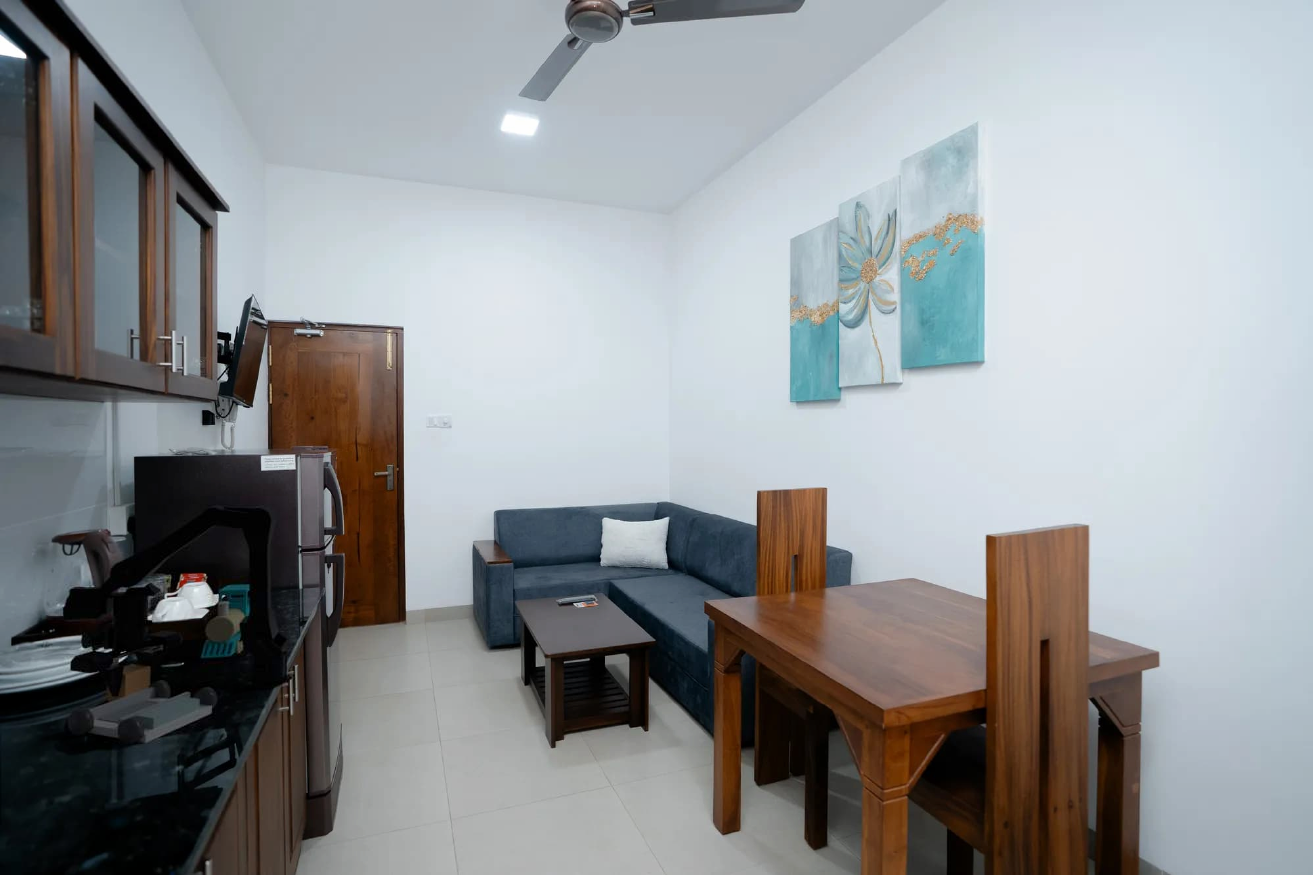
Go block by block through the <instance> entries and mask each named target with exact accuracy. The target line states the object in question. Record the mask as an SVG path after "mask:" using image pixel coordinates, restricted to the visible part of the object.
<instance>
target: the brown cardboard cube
mask: <svg viewBox="0 0 1313 875" xmlns="http://www.w3.org/2000/svg"><path fill="white" fill-rule="evenodd" d="M150 684H151V676H150V666H145V665H139V663H130V664H127V665H124V670H123V675H122V681H121V686H120V691H119V694H118V696H117V697H113V696H112V695H111V693H110V691H109V689H108V686H107V685H106V702H111V701H114V700H117V699H119V698H122V697H125V696H128V695H130V694H133V693H136V692H139V691H141V690H144V689H147V688H148V687H149V685H150Z"/></svg>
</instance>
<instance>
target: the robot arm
mask: <svg viewBox="0 0 1313 875" xmlns="http://www.w3.org/2000/svg"><path fill="white" fill-rule="evenodd" d="M277 515H278V514H277V511H276V510H275V509H274V508H272V506H269V505H267V504H266V505H265V504H261V505H256V506H254V507H243V506H242V507H235V506H233V507H232V506H231V507H230V506H222V505H213V506H211V507H208V508H206V509H205V510H203V512H202V513H200V514H199V515H198V516H196V517H195V518H193V519H191V520H190V521H189V522H187V523H185V524H184V525H183V526H181V527H180V528H178V529H177V530H175V531H174V532H172V533H170V534H168V536H166V537H165V538H163V539H161V540H160V541H159V542H157V543H155V544H154V545H153V546H151V547H148V548H146V549H144V550H142V551H139V552H138V553H136V554H134V555H131V556H129V557H127V558H125V559H123V560H121V561H118V562H117V563H115V564H114V565H112V566H111V568H110V572H109V578H107V579H106V581H105V582H104V583H103V584H102V585H101V586H90V587H89V586H87V587H86V586H74V587H72V588H70V589H69V590H68V592H69V594H68V596H67V598H66V600H65V603H64V606H63V607H62V616H63V620H64V621H65V622H81V621H96V620H104V619H105V617H106V616H107V615H110V614H111V613H112V622H110V623H107V625H106V629H105V631H103V632H99V631H98V630H97V629H94V630H91V631H85V632H83V633H82V634H81V639H80V644H81V647H82V648H83V649H88V648H91V651H88V652H84V653H81V654H77V655H75V656H74V657H73V658H72V659H71V661H70V668H69V669H70V670H69V671H70V672H77V673H82V674H83V673H84V674H85V673H86V674H96V673H99V674H100V675H101V677H102V678H103V680H104V682H105V684H106V687H107V686H108V689H109V691H110V693H111V695H112V696H113V697H117V696H118V694H119V691H120V686H121V681H122V675H123V670H124V666H125V665H124V664H119V660H120V659H122V658H124V657H128V656H131V655H135V657H136V658H137V661H138V665H145V666H150V677H151V675H153V672H154V671H155V669H156V668H157V665H158V664H159V663H160V662H161V660H162V658H163V657H164V656H165V655H167V654H168V652H169V650H166V649H171V650H172V649H173V648H176V647H180V646H182V645H183V636H182V635H181V633H179V631H170V630H161V631H158V632H153V633H150V634H148V627H149V626H153V619H149V597H153V596H156V595H158V594H159V593H160V592H161V591H162V590H161V588H159V587H157V586H156V585H155V584H153V582H149V583H147V584H145V586H136V585H138V584H140V583H141V582H143V581H146V580H147V579H148V578H150V577H151V575H153V574H154V573H155V572H156V571H158V569H159V568H161V566H162V565H163V564H164V563H165V562H166V561H167V560H168V559H169V558H170V557H171V556H173V555H175V553H177V552H179V551H180V550H182V549H183V548H184V547H186V546H187V545H189V544H191V543H193V541H195V540H196V539H198V538H200V536H202V535H204V534H205V533H208V531H209V530H211V529H213V528H214V527H215V526H217V527H218V526H220V527H225V528H233V529H240V530H241V529H242V532H243V536H244V540H245V542H246V545H247V547H248V570H249V571H248V573H249V574H248V579H249V580H248V581H249V591H248V592H249V597H250V612H249V616H245V617H244V619H243V620H242V621H241V622H240V623H239V626H240V631H241V637H240V640H239V642H241V641H243V650H246V652H248V653H250V654H251V657H252V661H253V662H252V666H251V681H248V682H247V683H246V686H247V687H253V688H260V689H267V690H269V689H270V690H272V689H273V688H275V687H278V686H280V685H282V684H284V683H286V682H288V681H291V680H292V679H293V676H291V675H287V673H288V651H286V648H287V646H288V643H289V638H287V637H286V636H285V635H284V634H282V633H281V632H279V628H278V624H277V619H276V616H275V613H274V610H273V608H272V577H271V576H272V572H271V568H272V566H271V564H272V562H271V559H272V558H271V555H272V554H271V546H272V545H271V544H272V541H273V538H274V534H275V529H276V525H277V519H278V516H277ZM134 586H136V587H134ZM121 588H126V590H125V591H118V590H119V589H121ZM115 591H118V592H115ZM163 646H164V647H165V648H166V649H164V647H163ZM102 648H103V650H109V651H107V652H105V651H100V650H99V649H102Z"/></svg>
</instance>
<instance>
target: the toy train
mask: <svg viewBox="0 0 1313 875" xmlns="http://www.w3.org/2000/svg"><path fill="white" fill-rule="evenodd" d="M248 592H249V584H228V585H225V587H223V588H221V589H219V590H218V602H217V603H216V604H217V616H215V617H214V618H212V619H211V620H209V621H208V623H207V624H206V626H205V635H206V637H207V639H206V640H205V642H204V645H203V649H202V651H201V652H202V653H201V656H200V659H206V658H207V659H208V658H211V659H212V658H225V657H226V658H227V657H231V656H232V655H234V654H235V653H236V654H237V655H240V654H241V653H242V652H241V651H243V650H244V647H243V641H241V642H239V640H240V637H241V631H240V626H239V623H240V622H241V621H242V620H243V619H244V617H245V616H249V612H250V596H249V597H248ZM223 596H226V600H224V601H223ZM231 596H243V597H231ZM240 652H241V653H240ZM239 653H240V654H239Z"/></svg>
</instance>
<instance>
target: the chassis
mask: <svg viewBox="0 0 1313 875" xmlns="http://www.w3.org/2000/svg"><path fill="white" fill-rule="evenodd" d="M170 696H171V687H170V685H169V683H168V682H167V681H165V680H162V679H160V680H157V681H154V682H152V683H150V685H149V687H148V688H147V689H144V690H141V691H139V692H136V693H133V694H130V695H128V696H125V697H122V698H119V699H117V700H114V701H108V702H107V703H106V702H105V703H104V704H103V703H102V704H101V705H98V706H96V707H93V708H90V709H88V708H85V707H83V708H80V709H77V710H75V711H72V712H71V713H70V714H69V715H68V717H67V727H68V729H69V732H70V733H71V734H72V735H74V736H81V735H84V734H86V733H87V734H95V735H98V736H99V735H100V736H103V737H104V736H105V737H110V738H118V739H119V740H120V742H121V743H122V744H124V745H125V746H126V745H132V744H134V743H137V742H138V743H143V744H147V743H149V742H151V741H153V740H155V739H158V738H159V737H162V736H164V735H167V734H169V733H171V732H173V731H175V730H177V729H180V728H182V727H184V726H187V725H189V724H190V723H193V722H195V721H197V720H200V719H203V718H204V717H206V716H209V715H211V714H212V711H213V708H214V707H216V705H217V702H218V695H217V692H216V691H215V690H214V689H213V688H212V687H209V686H207V687H203V688H200V689H198V690H196V691H195V693H194V695H193V697H191V691H185V692H183V693H182V692H181V693H180V694H178V695H176V696H173V697H170Z"/></svg>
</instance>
